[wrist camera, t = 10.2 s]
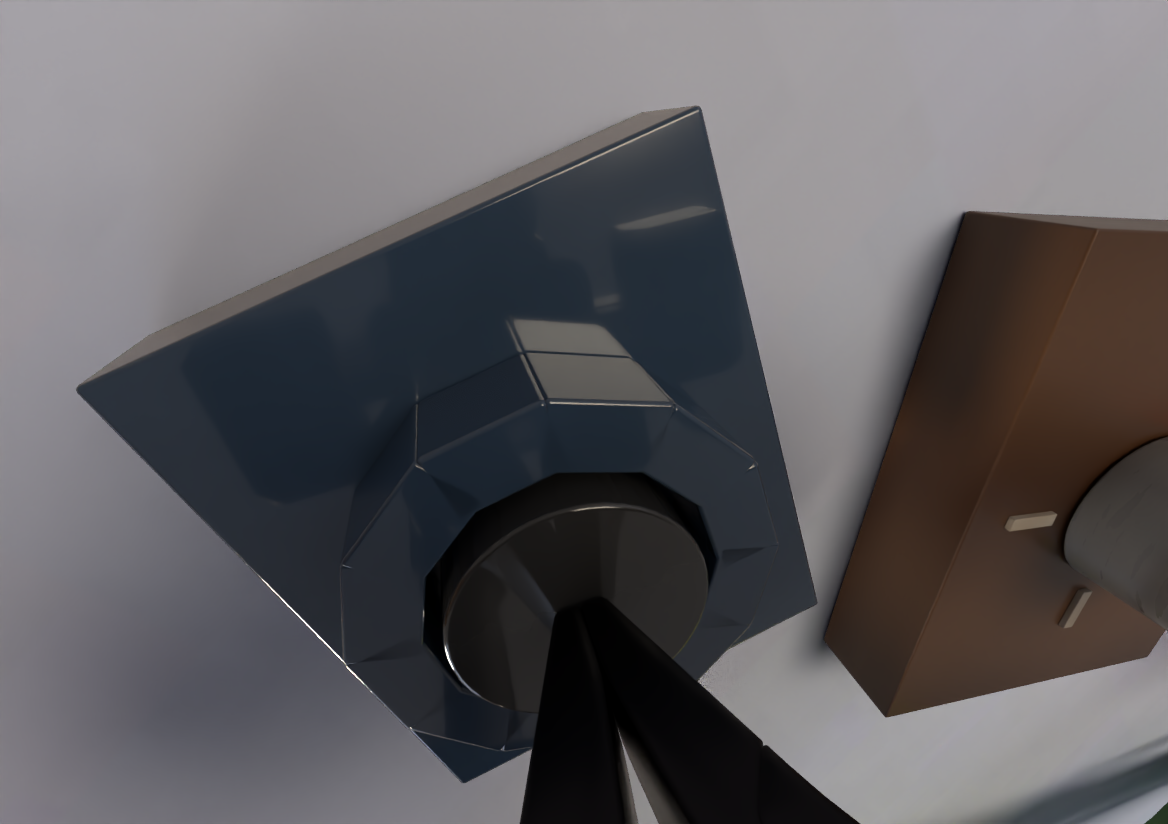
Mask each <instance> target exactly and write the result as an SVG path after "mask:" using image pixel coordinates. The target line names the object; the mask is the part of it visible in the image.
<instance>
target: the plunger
mask: <svg viewBox="0 0 1168 824" xmlns="http://www.w3.org/2000/svg"><path fill="white" fill-rule="evenodd" d="M440 582H441V607H442V633H443V645H444V649H445V654H446V657H447V659H448V661H449V664H450V666H451V668H452V669H453V671H454V672H455V674H456V675H457V677H458V678H459V680H460V681H461V682H462V683H463V684H464V685H465V686H466V687H467V688H468V689H469V690H470V691H472V692H473V693H474V694H476V695H477V696H479V697H480V698H482V699H484V700H486V701H488V702H490V703H491V704H494V705H497V706H500V707H502V708H505V709H509V710H514V711H518V712H526V713H538V711H539V705H540V699H541V693H542V687H543V681H544V675H545V669H546V663H547V657H548V651H549V645H550V639H551V633H552V627H553V621H554V617H555V614H556V613H557V612H560V611H563V610H565V609H568V608H571V607H574V606H578V607H580V609H581V605H582V604H583V603H585V602H588V601H591V600H594V599H597V598H600V597H604V598H606V599H608V600H609V601H610V602H611V603H612V604H613V605H614V606H615V607H616V608H618V609H619V610H620V611H621V612H622V613H623V614H624V615H625V616H626V617H627V618H628V619H630V620H631V621H632V622H633V623H634V624H635V625H636V626H637V627H638V628H639V629H640V630H642V631H643V632H644V633H645V634H646V635H647V636H648V637H649V638H650V639H651V640H652V641H654V642H655V643H656V644H657V645H658V646H659V647H660V648H661V649H662V650H663V651H665V652H666V653H667V654H668V655H669V656H670V657H671V658H672V659H674V658H675V657H676V656H677V654H678V653H679V652H680V651H681V650H682V648H683V647H684V646H685V645H686V643H687V642H688V641H689V639H690V638H691V636H692V635H693V633H694V631H695V629H696V627H697V626H698V624H699V622H700V619H701V617H702V614H703V611H704V609H705V605H706V600H707V596H708V573H707V566H706V562H705V559H704V555H703V553H702V551H701V549H700V547H699V545H698V543H697V542H696V540H695V539H694V537H693V536H692V534H691V533H690V531H689V530H688V529H687V527H686V526H685V524H684V523H683V521H682V520H681V518H680V517H679V515H678V514H677V512H676V511H675V509H674V508H673V506H672V505H671V504H670V502H669V501H668V499H667V498H666V496H665V495H664V493H663V492H662V490H661V489H660V487H659V486H658V484H657V483H656V481H654V480H653V479H651V478H649V477H648V476H646V475H644V474H643V473H556V474H554V475H552V476H550V477H548V478H546V479H543V480H541V481H539V482H537V483H535V484H533V485H531V486H529V487H527V488H525V489H523V490H521V491H519V492H517V493H514V494H512V495H510V496H508V497H506V498H504V499H502V500H500V501H498V502H496V503H494V504H492V505H490V506H488V507H486V508H483V509H481V510H479V511H477V512H476V513H475V514H474V515H473V517H472V518H471V519H470V520H469V522H468V523H467V524H466V526H465V527H464V528H463V530H462V531H461V532H460V534H459V535H458V536H457V537H456V539H455V540H454V541H453V543H452V544H451V545H450V547H449V548H448V549H447V550H446V552H445V553H444V554H443V556H442V557H441V558H440Z"/></svg>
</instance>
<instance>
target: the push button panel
mask: <svg viewBox="0 0 1168 824" xmlns="http://www.w3.org/2000/svg"><path fill="white" fill-rule="evenodd" d="M76 391H77V393H78V394H79V395H80V396H81V397H82V398H83V399H84V400H85V401H86V402H87V403H88V404H89V405H90V406H91V407H92V408H93V409H94V410H95V411H96V412H97V413H98V414H99V415H100V416H101V417H102V419H103V420H104V421H105V422H106V423H107V424H108V425H109V426H110V427H111V428H112V429H113V430H114V431H115V432H116V433H117V434H118V435H119V436H120V437H121V438H122V439H123V440H124V441H125V442H126V443H127V444H128V445H129V446H130V447H131V448H132V449H133V450H134V451H135V452H136V453H137V454H138V455H139V456H140V457H141V458H142V459H143V460H144V461H145V462H146V463H147V464H148V465H149V466H150V467H151V468H152V469H153V470H154V471H155V472H156V473H157V474H158V475H159V476H160V477H161V478H162V479H163V480H164V481H165V482H166V483H167V484H168V485H169V486H170V487H171V488H172V490H173V491H174V492H175V493H176V494H177V495H178V496H179V497H180V498H181V499H182V500H183V501H184V502H185V503H186V504H187V505H188V506H189V507H190V508H191V509H192V510H193V511H194V512H195V513H196V514H197V515H198V516H199V517H200V518H201V519H202V520H203V521H204V522H205V523H206V524H207V525H208V526H209V527H210V528H211V529H212V530H213V531H214V532H215V533H216V534H217V535H218V536H219V537H220V538H221V539H222V540H223V541H224V542H225V543H226V544H227V545H228V546H229V547H230V548H231V549H232V550H233V551H234V552H235V553H236V554H237V555H238V556H239V557H240V558H241V559H242V560H243V562H244V563H245V564H246V565H247V566H248V567H249V568H250V569H251V570H252V571H253V572H254V573H255V574H256V575H257V576H258V577H259V578H260V579H261V580H262V581H263V582H264V583H265V584H266V585H267V586H268V587H269V588H270V589H271V590H272V591H273V592H274V593H275V594H276V595H277V596H278V597H279V598H280V599H281V600H282V601H283V602H284V603H285V604H286V605H287V606H288V607H289V608H290V609H291V610H292V611H293V612H294V613H295V614H296V615H297V616H298V617H299V618H300V619H301V620H302V621H303V622H304V623H305V624H306V625H307V626H308V627H309V628H310V629H311V630H312V631H313V633H314V634H315V635H316V636H317V637H318V638H319V639H320V640H321V641H322V642H323V643H324V644H325V645H326V646H327V647H328V648H329V649H330V650H331V651H332V652H333V653H334V654H335V655H336V656H337V657H338V658H339V659H340V660H341V661H342V662H343V663H344V664H345V665H346V668H347V669H348V670H349V671H350V672H351V673H352V674H353V675H354V676H355V677H356V678H357V679H358V680H359V681H360V682H361V683H362V684H363V685H364V686H365V687H366V688H367V689H368V690H369V691H370V692H371V693H372V694H373V695H374V696H375V697H376V698H377V699H378V700H379V701H380V702H381V703H382V704H383V705H384V706H385V707H386V708H387V709H388V710H389V711H390V712H391V713H392V714H393V715H394V716H395V717H396V718H397V719H398V720H399V721H400V722H401V723H402V724H403V725H404V726H405V727H406V728H408V729H409V730H410V731H411V732H412V733H413V734H414V735H415V736H416V737H417V738H418V739H419V740H420V741H421V742H422V743H423V744H424V745H425V746H426V747H427V748H428V749H429V750H430V751H431V752H432V753H433V754H434V755H435V756H436V757H437V758H438V759H439V760H440V761H441V762H442V763H443V764H444V765H445V766H446V767H447V768H448V769H449V770H450V771H451V772H452V773H453V774H454V775H455V777H456V778H457V779H458V780H459V781H460V782H461V783H467V782H468V781H470V780H472V779H474V778H476V777H478V776H480V775H482V774H484V773H486V772H488V771H490V770H492V769H494V768H496V767H498V766H500V765H502V764H504V763H506V762H508V761H510V760H512V759H514V758H516V757H518V756H520V755H522V754H523V753H525V752H527V751H529V750H531V749H532V747H533V741H534V735H535V729H536V723H537V717H538V713H526V712H518V711H514V710H509V709H505V708H502V707H500V706H497V705H494V704H491V703H490V702H488V701H486V700H484V699H482V698H480V697H479V696H477V695H476V694H474V693H473V692H472V691H470V690H469V689H468V688H467V687H466V686H465V685H464V684H463V683H462V682H461V681H460V680H459V678H458V677H457V675H456V674H455V672H454V671H453V669H452V668H451V666H450V664H449V661H448V659H447V657H446V654H445V649H444V645H443V633H442V607H441V582H440V558H441V557H442V556H443V554H444V553H445V552H446V550H447V549H448V548H449V547H450V545H451V544H452V543H453V541H454V540H455V539H456V537H457V536H458V535H459V534H460V532H461V531H462V530H463V528H464V527H465V526H466V524H467V523H468V522H469V520H470V519H471V518H472V517H473V515H474V514H475V513H476V512H477V511H479V510H481V509H483V508H486V507H488V506H490V505H492V504H494V503H496V502H498V501H500V500H502V499H504V498H506V497H508V496H510V495H512V494H514V493H517V492H519V491H521V490H523V489H525V488H527V487H529V486H531V485H533V484H535V483H537V482H539V481H541V480H543V479H546V478H548V477H550V476H552V475H554V474H556V473H643V474H644V475H646V476H648V477H649V478H651V479H653V480H654V481H656V483H657V484H658V486H659V487H660V489H661V490H662V492H663V493H664V495H665V496H666V498H667V499H668V501H669V502H670V504H671V505H672V506H673V508H674V509H675V511H676V512H677V514H678V515H679V517H680V518H681V520H682V521H683V523H684V524H685V526H686V527H687V529H688V530H689V531H690V533H691V534H692V536H693V537H694V539H695V540H696V542H697V543H698V545H699V547H700V549H701V551H702V553H703V555H704V559H705V562H706V566H707V573H708V596H707V600H706V605H705V609H704V611H703V614H702V617H701V619H700V622H699V624H698V626H697V627H696V629H695V631H694V633H693V635H692V636H691V638H690V639H689V641H688V642H687V643H686V645H685V646H684V647H683V648H682V650H681V651H680V652H679V653H678V654H677V656H676V657H675V658H674V659H673V660H674V661H675V662H677V663H678V664H679V665H680V666H681V667H682V668H683V669H684V670H685V671H686V672H687V673H689V674H690V675H691V676H692V677H693V678H694V679H695V680H696V681H698V680H699V679H700V678H701V677H702V676H703V675H704V674H705V673H706V672H707V671H708V670H709V668H710V667H711V666H712V665H713V664H714V663H715V662H716V661H717V660H718V659H719V658H720V657H721V656H722V655H723V654H724V653H725V652H726V651H727V650H728V649H730V648H732V647H734V646H736V645H738V644H740V643H742V642H744V641H746V640H747V639H749V638H751V637H753V636H755V635H757V634H759V633H761V632H763V631H765V630H767V629H769V628H771V627H773V626H775V625H777V624H779V623H781V622H783V621H785V620H787V619H789V618H791V617H793V616H795V615H797V614H799V613H801V612H802V611H804V610H806V609H808V608H810V607H812V606H814V605H816V604H817V599H816V594H815V590H814V586H813V581H812V577H811V573H810V569H809V564H808V560H807V556H806V552H805V547H804V543H803V539H802V535H801V530H800V526H799V522H798V518H797V513H796V509H795V505H794V501H793V496H792V492H791V488H790V484H789V479H788V475H787V471H786V467H785V462H784V458H783V454H782V450H781V445H780V441H779V437H778V433H777V428H776V424H775V420H774V416H773V411H772V407H771V403H770V399H769V394H768V390H767V386H766V382H765V377H764V373H763V369H762V365H761V360H760V356H759V352H758V348H757V343H756V339H755V335H754V331H753V326H752V322H751V318H750V314H749V309H748V305H747V301H746V297H745V292H744V288H743V284H742V280H741V275H740V271H739V267H738V263H737V258H736V254H735V250H734V246H733V241H732V237H731V233H730V229H729V224H728V220H727V216H726V212H725V207H724V203H723V199H722V195H721V190H720V186H719V182H718V178H717V173H716V169H715V165H714V161H713V156H712V152H711V148H710V144H709V139H708V135H707V131H706V127H705V122H704V118H703V114H702V110H701V108H700V107H699V106H689V107H681V108H673V109H664V110H656V111H648V112H642V113H639V114H637V115H635V116H633V117H631V118H628V119H626V120H624V121H622V122H619V123H617V124H615V125H613V126H611V127H608V128H606V129H604V130H602V131H600V132H597V133H595V134H593V135H591V136H588V137H586V138H584V139H582V140H580V141H577V142H575V143H573V144H571V145H568V146H566V147H564V148H562V149H560V150H557V151H555V152H553V153H551V154H549V155H546V156H544V157H542V158H540V159H537V160H535V161H533V162H531V163H529V164H526V165H524V166H522V167H520V168H518V169H515V170H513V171H511V172H509V173H506V174H504V175H502V176H500V177H498V178H495V179H493V180H491V181H489V182H487V183H484V184H482V185H480V186H478V187H475V188H473V189H471V190H469V191H467V192H464V193H462V194H460V195H458V196H456V197H453V198H451V199H449V200H447V201H444V202H442V203H440V204H438V205H436V206H433V207H431V208H429V209H427V210H425V211H422V212H420V213H418V214H416V215H413V216H411V217H409V218H407V219H405V220H402V221H400V222H398V223H396V224H394V225H391V226H389V227H387V228H385V229H382V230H380V231H378V232H376V233H374V234H371V235H369V236H367V237H365V238H363V239H360V240H358V241H356V242H354V243H351V244H349V245H347V246H345V247H343V248H340V249H338V250H336V251H334V252H332V253H329V254H327V255H325V256H323V257H320V258H318V259H316V260H314V261H312V262H309V263H307V264H305V265H303V266H301V267H298V268H296V269H294V270H292V271H289V272H287V273H285V274H283V275H281V276H278V277H276V278H274V279H272V280H269V281H267V282H265V283H263V284H261V285H258V286H256V287H254V288H252V289H250V290H247V291H245V292H243V293H241V294H238V295H236V296H234V297H232V298H230V299H227V300H225V301H223V302H221V303H219V304H216V305H214V306H212V307H210V308H207V309H205V310H203V311H201V312H199V313H196V314H194V315H192V316H190V317H188V318H185V319H183V320H181V321H179V322H176V323H174V324H172V325H170V326H168V327H165V328H163V329H161V330H159V331H157V332H154V333H152V334H150V335H148V336H147V337H145V338H144V339H143V340H141V341H140V342H138V343H137V344H136V345H134V346H133V347H131V348H130V349H129V350H127V351H126V352H124V353H123V354H122V355H120V356H119V357H117V358H116V359H115V360H113V361H112V362H110V363H109V364H108V365H106V366H105V367H103V368H102V369H101V370H99V371H98V372H96V373H95V374H94V375H92V376H91V377H89V378H88V379H87V380H85V381H84V382H82V383H81V384H80V385H79V386H78V387H77V388H76Z"/></svg>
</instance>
